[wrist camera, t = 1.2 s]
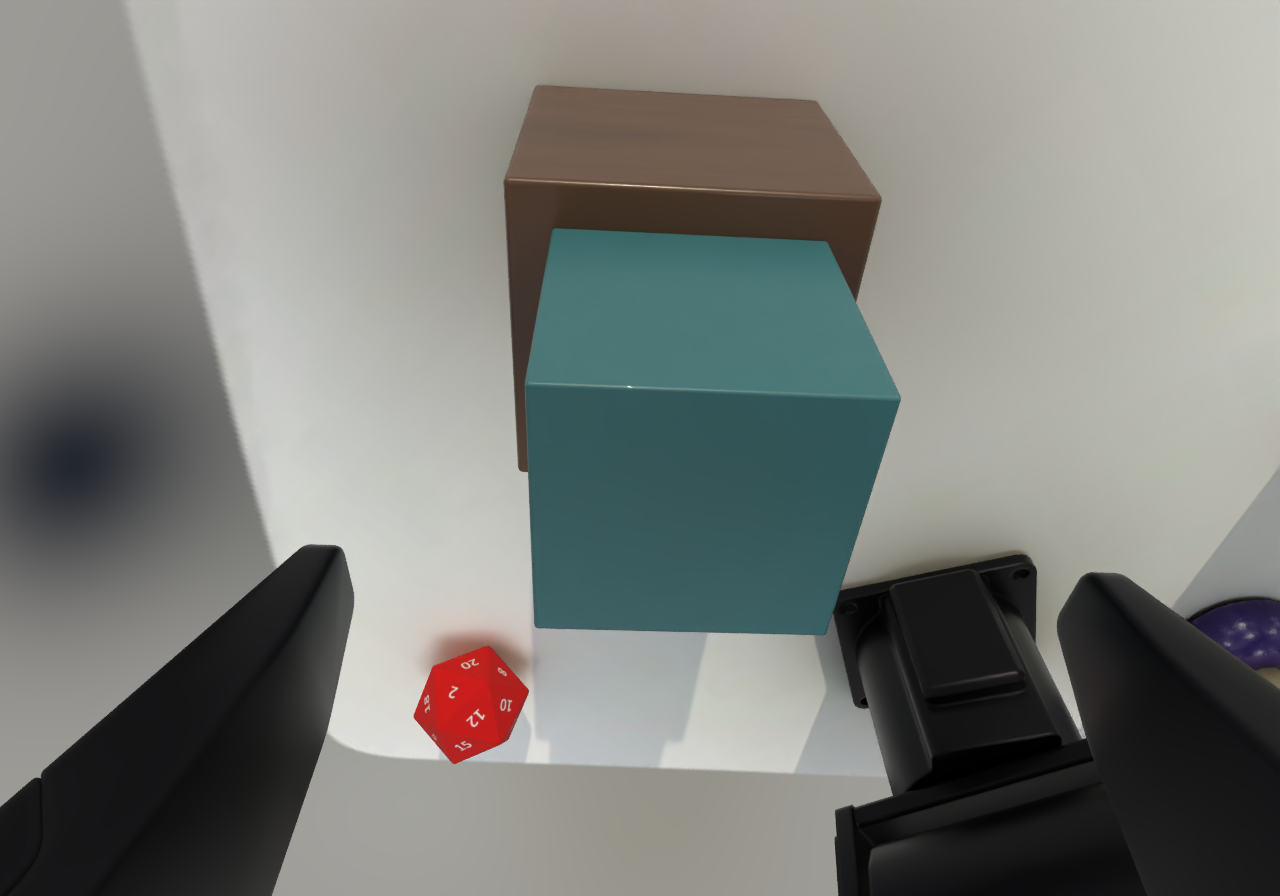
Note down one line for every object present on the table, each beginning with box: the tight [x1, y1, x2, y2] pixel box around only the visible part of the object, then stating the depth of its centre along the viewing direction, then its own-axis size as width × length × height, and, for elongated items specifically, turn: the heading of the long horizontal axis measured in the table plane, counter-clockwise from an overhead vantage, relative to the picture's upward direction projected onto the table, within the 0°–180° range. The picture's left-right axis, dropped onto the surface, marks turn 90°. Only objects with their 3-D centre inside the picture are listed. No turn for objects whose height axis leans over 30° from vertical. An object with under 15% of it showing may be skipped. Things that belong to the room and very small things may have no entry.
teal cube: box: [525, 228, 901, 635], centre depth 12 cm, size 4×4×4 cm
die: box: [414, 646, 529, 764], centre depth 28 cm, size 4×3×4 cm
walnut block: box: [504, 85, 882, 472], centre depth 16 cm, size 6×6×6 cm
